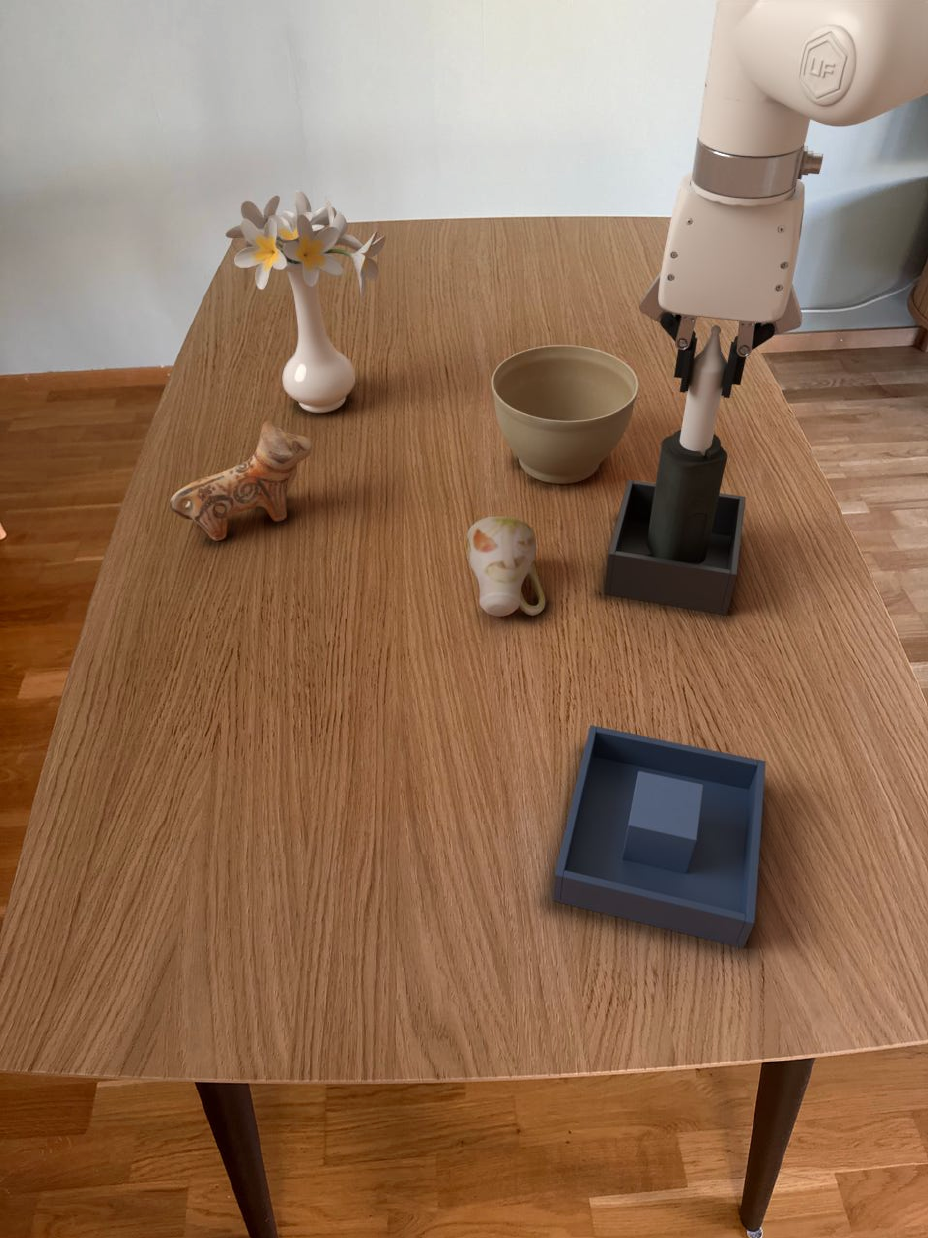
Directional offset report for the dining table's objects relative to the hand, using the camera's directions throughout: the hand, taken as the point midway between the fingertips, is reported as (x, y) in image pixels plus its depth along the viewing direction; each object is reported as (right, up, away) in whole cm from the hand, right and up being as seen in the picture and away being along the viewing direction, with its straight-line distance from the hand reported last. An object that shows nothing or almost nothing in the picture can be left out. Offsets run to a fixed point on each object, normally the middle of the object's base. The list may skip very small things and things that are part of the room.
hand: (706, 385), depth 80 cm
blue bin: (-6, -38, -7) cm, 39 cm away
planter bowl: (-10, -2, +29) cm, 30 cm away
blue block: (-6, -38, -8) cm, 39 cm away
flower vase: (-39, +8, +39) cm, 56 cm away
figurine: (-45, -9, +22) cm, 51 cm away
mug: (-17, -18, +13) cm, 28 cm away
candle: (+1, -14, +14) cm, 20 cm away
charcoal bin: (+1, -15, +15) cm, 21 cm away
